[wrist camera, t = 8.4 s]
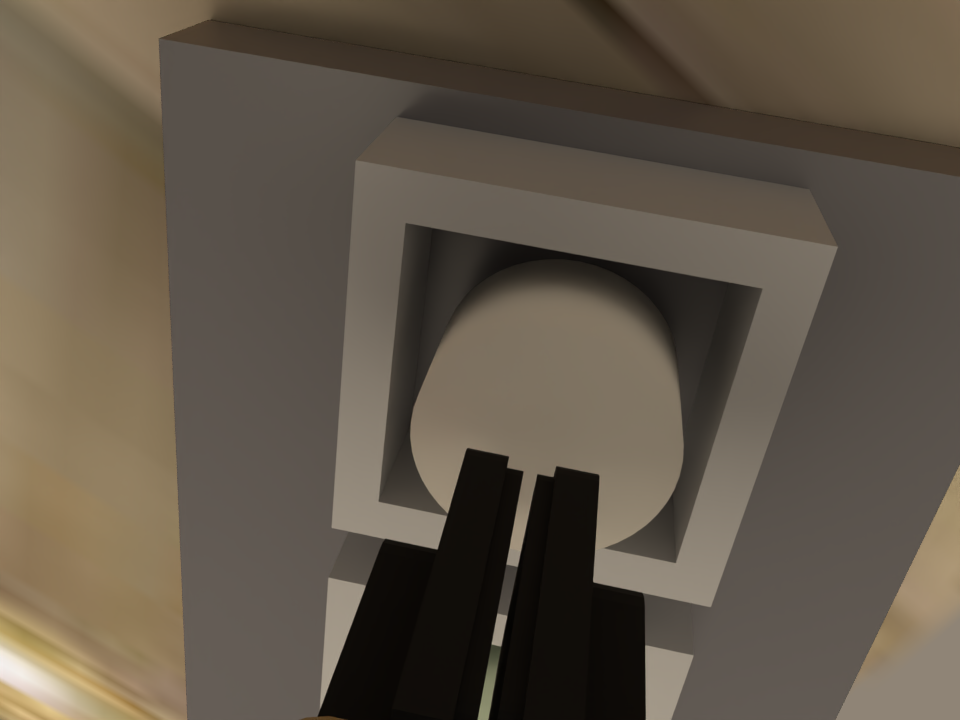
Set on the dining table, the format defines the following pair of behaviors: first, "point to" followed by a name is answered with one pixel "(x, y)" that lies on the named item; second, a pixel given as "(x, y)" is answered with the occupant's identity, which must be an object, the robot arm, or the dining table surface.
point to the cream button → (557, 391)
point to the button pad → (530, 237)
